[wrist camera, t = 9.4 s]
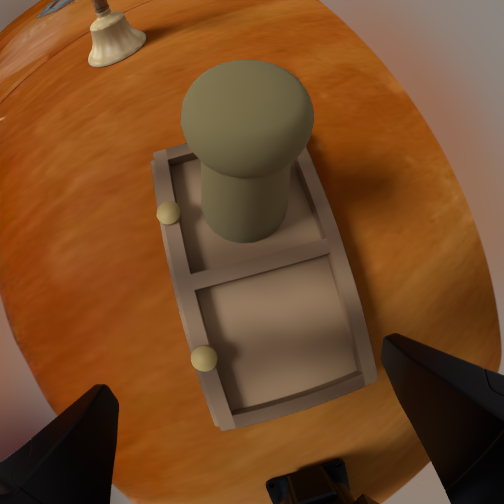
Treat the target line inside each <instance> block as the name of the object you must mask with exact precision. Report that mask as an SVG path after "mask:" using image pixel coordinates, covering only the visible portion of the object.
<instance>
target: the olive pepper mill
mask: <svg viewBox="0 0 504 504" xmlns="http://www.w3.org/2000/svg"><path fill="white" fill-rule="evenodd" d="M313 123H314V110H313V106H312V102H311V98H310V96H309V94H308V92H307V90H306V89H305V87H304V86H303V85H302V83H301V82H300V81H299V79H298V78H297V77H295V76H294V75H293V74H291V73H290V72H289V71H287V70H286V69H284V68H281V67H279V66H277V65H274V64H272V63H268V62H263V61H257V60H236V61H231V62H226V63H222V64H219V65H217V66H215V67H213V68H211V69H209V70H207V71H205V72H204V73H203V74H202V75H201V76H199V77H198V78H197V79H196V80H195V81H194V82H193V84H192V85H191V87H190V89H189V90H188V92H187V94H186V96H185V97H184V99H183V104H182V113H181V127H182V130H183V133H184V136H185V139H186V141H187V144H188V147H189V148H190V149H191V151H192V152H193V153H194V154H195V155H196V156H197V157H198V158H199V159H200V161H201V204H202V212H203V215H204V218H205V221H206V223H207V224H208V225H209V226H210V228H211V229H212V230H213V231H214V233H216V234H218V235H219V236H221V237H222V238H224V239H225V240H229V241H232V242H236V243H254V242H257V241H260V240H262V239H265V238H267V237H269V236H270V235H271V234H272V233H274V232H275V231H276V230H277V229H278V228H279V226H280V225H281V223H282V222H283V220H284V218H285V215H286V210H287V206H288V194H289V181H290V168H291V163H292V162H293V161H294V160H295V159H297V158H298V157H299V155H300V154H301V152H302V151H303V149H304V148H305V146H306V145H307V144H308V141H309V139H310V137H311V133H312V128H313Z"/></svg>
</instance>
